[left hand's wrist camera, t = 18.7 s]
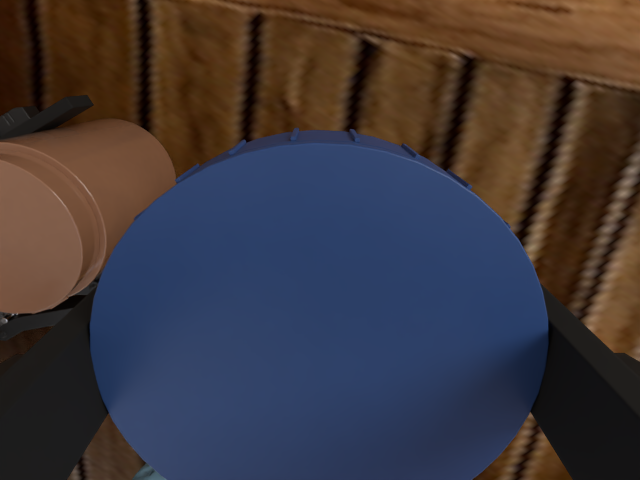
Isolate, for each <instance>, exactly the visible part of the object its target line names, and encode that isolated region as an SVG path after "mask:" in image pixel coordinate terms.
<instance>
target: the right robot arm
mask: <svg viewBox="0 0 640 480" xmlns="http://www.w3.org/2000/svg"><path fill="white" fill-rule="evenodd" d="M91 106H93V103H92V102H91V100H90V99H89V97H88V96H87V95H83V96H72V97H65V98H63V99H62V100H60V101H58V102H57V103H55V104H53V105H52V106H50V107H48V108H47V109H45V110H44V111H42V112H39V111H38V109H37V108H36V107H35V106H29V107H20V108H13V109H12V110H10V111H9V112H7V113H5V114H4V115H2V116H1V117H0V140H1V139H6V138H11V137H16V136H21V135H25V134H30V133H35V132H40V131H45V130H50V129H54V128H56V127H58V126H59V125H61V124H63V123H64V122H66V121H68V120H69V119H71V118H73V117H75V116H76V115H78V114H80V113H81V112H83V111H85V110H86V109H88V108H90V107H91ZM100 277H101V274H100V275H99V276H98V277H97V278H96V279H95V280H94V281H92V282H91V283H90V284H89V285H88V286H87V287H86V288H84V289H83V290H81V291H80V292H78V293H76V294H74V295H76V296H71V297H69V298H68V299H66V300H65V301H63V302H62V303H60V304H58V305H57V306H55V307H54V308H52V309H47V310H44V311H41V312H37V313H34V314H32V313H19V314H12V313H6V312H0V340H8V339H10V338H11V337H13V336H15V335H16V334H18V333H20V332H22V331H24V330H30V329H36V328H41V327H47V326H53V325H56V324H57V323H58V322H59V321H60V320H61V319H62V318H63V317H64V316H65V315H67V314H68V313H69V312H70V311H71V310H72V309H73V308H74V307H75V306H76V305H77V304H78V303H79V302H80V301H81V300H82V299H83V298H85V297H86V296H87V295H88V294H89V293H90V292H91V291H92V290H93V289H94V288H95V287H96V286H97V285H98V283H99V280H100Z"/></svg>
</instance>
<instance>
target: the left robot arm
mask: <svg viewBox="0 0 640 480" xmlns="http://www.w3.org/2000/svg"><path fill="white" fill-rule="evenodd" d="M540 285H541V284H540ZM97 286H98V285H97ZM97 286H96V287H95V288H94V289H93V290H92V291H91V292H90V293H89V294H88V295H87V296H86V297H85V298H83V299H82V300H81V301H80V302H79V303H78V304H77V305H76V306H75V307H74V308H73V309H72V310H71V311H70V312H69V313H68V314H67V315H65V316H64V317H63V318H62V319H61V320H60V321H59V322H58V323H57V324H56V325H55V326H54V327H53V328H52V329H51V330H50V331H49V332H47V333H46V334H45V335H44V336H43V337H42V338H41V339H40V340H39V341H38V342H37V343H36V344H35V345H34V346H33V347H32V348H31V349H29V350H28V351H27V352H26V353H25V354H24V355H14V356H12V357H11V358H9V359H7V360H5V361H4V362H2V363H0V480H67V478H68V477H69V475H70V474H71V472H72V470H73V469H74V467H75V466H76V464H77V462H78V461H79V459H80V458H81V456H82V454H83V453H84V451H85V450H86V448H87V446H88V445H89V443H90V442H91V440H92V438H93V437H94V435H95V434H96V432H97V430H98V429H99V427H100V426H101V424H102V422H103V421H104V419H105V418H106V416H107V414H108V413H109V412H108V410H107V408H106V406H105V404H104V402H103V400H102V398H101V395H100V392H99V388H98V384H97V380H96V376H95V371H94V367H93V362H92V357H91V353H90V319H91V312H92V306H93V299H94V295H95V292H96V289H97ZM541 288H542V291H543V295H544V300H545V306H546V311H547V316H548V339H549V345H548V353H547V361H546V368H545V372H544V376H543V379H542V383H541V386H540V390H539V393H538V395H537V397H536V400H535V402H534V404H533V406H532V409H531V411H530V412H531V413H532V415H533V416H534V418H535V420H536V421H537V423H538V424H539V426H540V428H541V429H542V431H543V432H544V434H545V436H546V437H547V439H548V440H549V442H550V444H551V445H552V447H553V448H554V450H555V452H556V453H557V455H558V456H559V458H560V460H561V461H562V463H563V464H564V466H565V468H566V469H567V471H568V472H569V474H570V476H571V477H572V479H573V480H640V362H639V361H637V360H636V359H634V358H632V357H630V356H628V355H627V354H625V353H613V352H612V351H611V350H610V349H609V348H608V347H607V346H606V345H605V344H604V343H603V342H602V341H601V340H600V339H599V338H598V337H596V336H595V335H594V334H593V333H592V332H591V331H590V330H589V329H588V328H587V327H586V326H585V325H584V324H583V323H582V322H581V321H580V320H578V319H577V318H576V317H575V316H574V315H573V314H572V313H571V312H570V311H569V310H568V309H567V308H566V307H565V306H564V305H563V304H562V303H560V302H559V301H558V300H557V299H556V298H555V297H554V296H553V295H552V294H551V293H550V292H549V291H548V290H547V289H546V288H545V287H544V286H543V285H541ZM132 480H166V479H165V478H164V477H162V476H161V475H160V474H159V473H157V472H156V471H155V470H154V469H153V468H152V467H151V466H150V465H148V464H147V463H146V464H145V465H144V466H143V467H142V468H141V469H140V470H139V471H138V472H137V474H136V475H135V476H134V477H133V479H132Z"/></svg>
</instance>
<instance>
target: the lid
mask: <svg viewBox="0 0 640 480" xmlns="http://www.w3.org/2000/svg"><path fill="white" fill-rule="evenodd" d="M175 181H176V183H177V184H176V185H175V186H173V187H172V188H171V189H169V190H168V191H167V192H165V193H164V194H163V195H161V196H160V197H159V198H157V199H156V200H155V201H154V202H153V203H152V204H151V205H150V206H149V207H147V208H146V209H145V210H143V211H142V212H141V213H139V214H138V215H137V216H136V217H135V218H134V220H135V221H134V222H133V223H132V224H131V225H130V227H129V228H128V229H127V231H126V232H125V234H124V235H123V236H122V238H121V239H120V240H119V242H118V243H117V245H116V246H115V247H114V249H113V251H112V253H111V255H110V257H109V259H108V261H107V263H106V265H105V267H104V269H103V271H102V273H101V277H100V280H99V283H98V286H97V289H96V292H95V295H94V299H93V306H92V312H91V319H90V353H91V357H92V362H93V367H94V371H95V376H96V380H97V384H98V388H99V392H100V395H101V398H102V400H103V402H104V404H105V406H106V408H107V410H108V412H109V414H110V416H111V418H112V420H113V422H114V423H115V425H116V426H117V428H118V429H119V431H120V432H121V434H122V435H123V437H124V438H125V439H126V441H127V442H128V443H129V444H130V446H131V447H132V448H133V449H134V450H135V451H136V452H137V453H138V455H139V456H140V457H141V458H142V459H143V460H144V461H145V462H146V463H147V464H148V465H150V466H151V467H152V468H153V469H154V470H155V471H156V472H157V473H159V474H160V475H161V476H162V477H164V478H165V479H166V480H472V479H473V478H474V477H476V476H477V475H478V474H480V473H481V472H482V471H483V470H484V469H485V468H486V467H488V466H489V465H490V464H491V463H492V462H493V461H494V460H495V459H496V458H497V457H498V456H499V455H500V454H501V453H502V452H503V450H504V449H505V448H506V447H507V446H508V444H509V443H510V442H511V441H512V439H513V438H514V437H515V436H516V434H517V433H518V431H519V429H520V428H521V426H522V425H523V423H524V422H525V420H526V418H527V417H528V415H529V413H530V411H531V409H532V406H533V404H534V402H535V400H536V397H537V395H538V393H539V390H540V386H541V383H542V379H543V376H544V372H545V368H546V361H547V353H548V345H549V339H548V316H547V311H546V306H545V300H544V295H543V291H542V288H541V285H540V282H539V280H538V277H537V274H536V272H535V269H534V266H533V264H532V262H531V261H530V259H529V257H528V255H527V253H526V252H525V250H524V248H523V246H522V245H521V243H520V241H519V240H518V238H517V237H516V236H515V235H514V233H513V232H512V231H511V230H510V226H509V224H508V223H506V222H505V221H504V220H503V219H502V218H501V217H500V216H499V215H498V214H497V213H496V212H495V211H494V210H493V209H491V208H490V207H489V206H488V205H487V204H486V203H485V202H484V201H483V200H482V199H481V198H480V197H479V196H477V195H476V194H475V193H473V192H472V191H471V190H470V189H471V188H472V186H471V185H469V184H468V183H467V182H465V181H464V180H462V179H461V178H460V177H458V176H457V175H456V174H454V173H453V172H451V171H450V170H449V169H448V170H447V171H446V172H445V171H444V170H442V169H441V168H439V167H438V166H436V165H435V164H434V163H432V162H431V161H429V160H428V159H426V158H424V157H422V156H420V155H419V154H417V153H416V152H415V151H414V150H412V149H411V148H410V147H409V146H407V145H406V144H402V146H400V145H396V144H393V143H390V142H387V141H384V140H381V139H378V138H375V137H371V136H366V135H361V134H357V133H356V132H355V130H353V129H350V132H344V131H324V130H310V131H299V128H294V130H293V132H287V133H282V134H277V135H273V136H268V137H264V138H259V139H256V140H253V141H250V142H248V143H246V141H245V140H243V141H241V142H240V143H238V144H237V145H236V146H235V147H233V148H232V149H229V150H228V151H226V152H224V153H222V154H220V155H218V156H217V157H215V158H213V159H211V160H209V161H207V162H206V163H204V164H203V165H202V166H199V164H197V165H195V166H194V167H192V168H191V169H190V170H188V171H187V172H185V173H184V174H182V175H181V176H180V177H178V178H177V179H175Z"/></svg>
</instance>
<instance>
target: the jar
mask: <svg viewBox="0 0 640 480" xmlns="http://www.w3.org/2000/svg"><path fill="white" fill-rule="evenodd" d="M175 179H176V175H175V171H174V167H173V164H172V161H171V159H170V157H169V155H168V153H167V152H166V150H165V149H164V147H163V146H162V145H161V144H160V142H159V141H158V140H157V139H156V138H155V137H154V136H153V135H151V134H150V133H149V132H147V131H146V130H145V129H143V128H141V127H140V126H138V125H135V124H133V123H131V122H128V121H124V120H120V119H109V118H106V119H98V120H93V121H88V122H83V123H79V124H74V125H69V126H64V127H59V128H54V129H50V130H45V131H40V132H35V133H30V134H25V135H21V136H16V137H11V138H6V139H1V140H0V312H6V313H12V314H19V313H32V314H34V313H37V312H41V311H44V310H47V309H52V308H54V307H55V306H57V305H58V304H60V303H62V302H63V301H65V300H66V299H68V298H69V297H70V296H72V295H74V294H76V293H78V292H80V291H81V290H83V289H84V288H86V287H87V286H88V285H89V284H90V283H91V282H92V281H94V280H95V279H96V278H97V277H98V276H99V275H100V274H101V273H102V271H103V269H104V267H105V265H106V263H107V261H108V259H109V257H110V255H111V253H112V251H113V249H114V247H115V246H116V245H117V243H118V242H119V240H120V239H121V238H122V236H123V235H124V234H125V232H126V231H127V229H128V228H129V227H130V225H131V224H132V223H133V222H134V221H135V220H134V218H135V217H136V216H137V215H138V214H139V213H141V212H142V211H143V210H145V209H146V208H147V207H149V206H150V205H151V204H152V203H153V202H154V201H155V200H156V199H157V198H159V197H160V196H161V195H163V194H164V193H165V192H167V191H168V190H169V189H171V188H172V187H173V186H175V185H176V181H175Z"/></svg>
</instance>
